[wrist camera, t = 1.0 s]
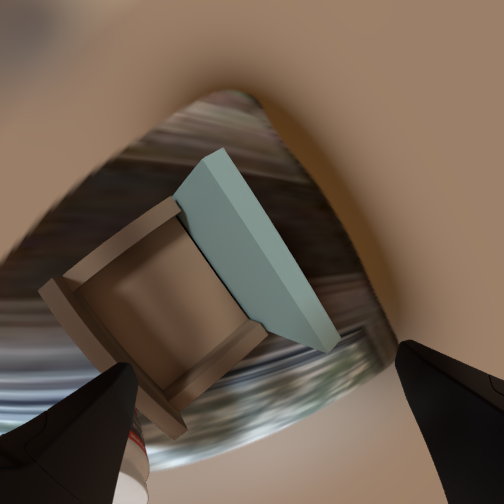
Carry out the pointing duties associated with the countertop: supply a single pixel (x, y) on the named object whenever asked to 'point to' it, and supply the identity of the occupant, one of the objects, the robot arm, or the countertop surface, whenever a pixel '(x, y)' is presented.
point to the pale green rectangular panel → (251, 254)
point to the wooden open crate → (154, 314)
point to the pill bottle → (133, 469)
